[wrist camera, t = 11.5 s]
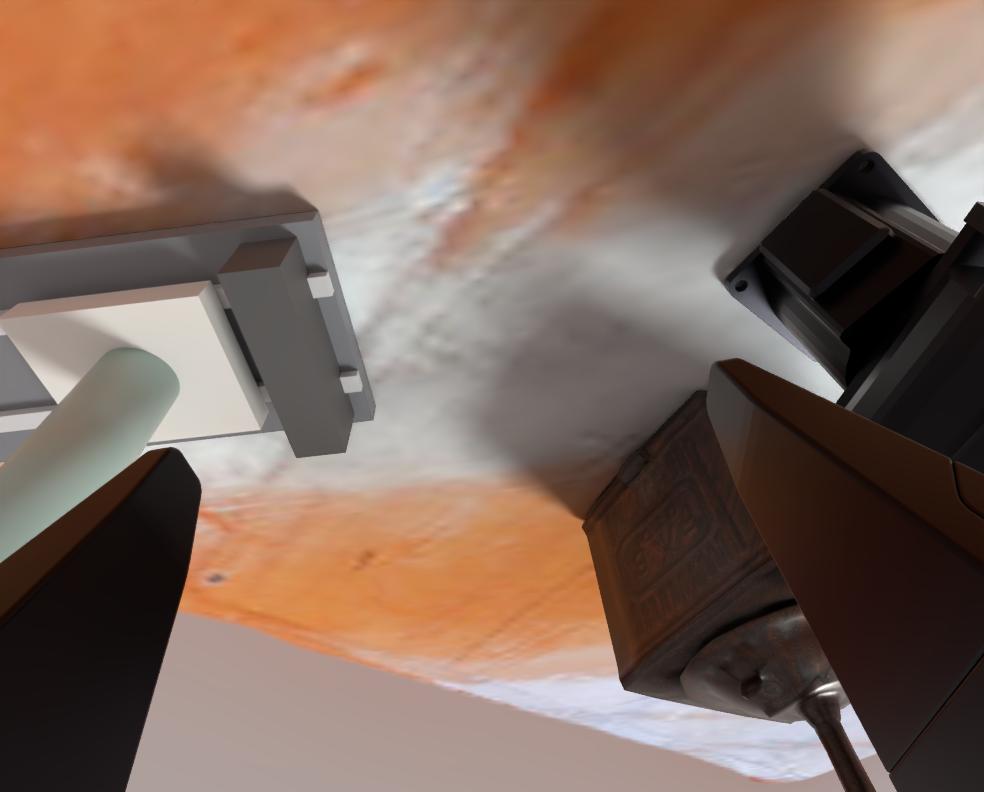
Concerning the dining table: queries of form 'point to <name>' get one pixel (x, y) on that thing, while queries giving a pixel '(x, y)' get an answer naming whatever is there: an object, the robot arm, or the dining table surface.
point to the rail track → (245, 300)
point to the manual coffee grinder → (707, 593)
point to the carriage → (118, 392)
